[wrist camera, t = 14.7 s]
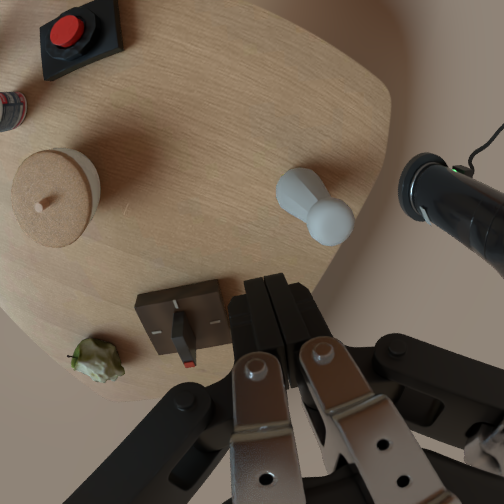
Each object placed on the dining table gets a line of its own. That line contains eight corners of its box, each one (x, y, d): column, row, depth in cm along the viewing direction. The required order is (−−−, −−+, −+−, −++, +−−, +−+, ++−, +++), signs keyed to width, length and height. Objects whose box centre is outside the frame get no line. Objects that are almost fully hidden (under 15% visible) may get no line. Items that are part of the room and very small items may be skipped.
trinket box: (73, 123, 27) (34, 131, 18) (128, 181, 31) (104, 207, 23) (30, 184, 29) (-10, 209, 20) (80, 237, 34) (51, 273, 25)
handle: (173, 312, 38) (170, 339, 33) (184, 310, 38) (182, 337, 33) (185, 342, 41) (185, 369, 36) (196, 340, 41) (196, 367, 36)
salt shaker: (272, 163, 33) (307, 195, 22) (316, 163, 34) (369, 193, 23) (271, 209, 36) (302, 260, 25) (314, 207, 37) (360, 254, 25)
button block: (117, -2, 20) (108, -13, 16) (123, 51, 24) (113, 44, 20) (47, 30, 19) (32, 24, 16) (52, 81, 23) (36, 80, 20)
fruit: (70, 332, 42) (56, 357, 35) (114, 325, 44) (103, 351, 36) (91, 371, 45) (81, 399, 38) (132, 366, 46) (126, 395, 39)
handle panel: (217, 278, 40) (218, 291, 37) (231, 330, 45) (233, 344, 42) (137, 294, 39) (133, 307, 36) (160, 342, 44) (158, 356, 41)
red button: (83, 14, 18) (77, 10, 16) (85, 39, 19) (79, 36, 18) (56, 27, 17) (49, 24, 16) (58, 52, 19) (51, 50, 18)
